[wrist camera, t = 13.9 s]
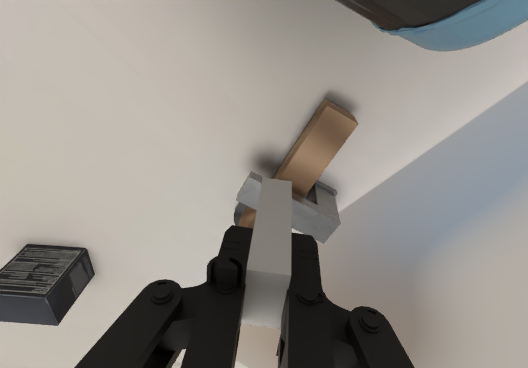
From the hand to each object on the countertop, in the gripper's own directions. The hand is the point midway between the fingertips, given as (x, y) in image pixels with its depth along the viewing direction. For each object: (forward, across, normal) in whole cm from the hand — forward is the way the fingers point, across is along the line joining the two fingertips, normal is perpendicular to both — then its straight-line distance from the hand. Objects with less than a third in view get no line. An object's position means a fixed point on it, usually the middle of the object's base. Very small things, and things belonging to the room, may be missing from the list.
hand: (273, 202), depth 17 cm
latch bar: (+23, +2, -11) cm, 25 cm away
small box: (+25, -34, -33) cm, 53 cm away
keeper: (+24, +2, -12) cm, 27 cm away
